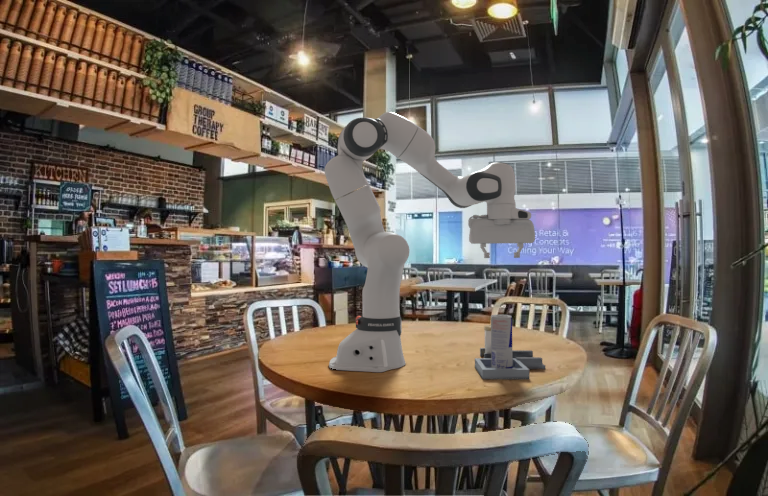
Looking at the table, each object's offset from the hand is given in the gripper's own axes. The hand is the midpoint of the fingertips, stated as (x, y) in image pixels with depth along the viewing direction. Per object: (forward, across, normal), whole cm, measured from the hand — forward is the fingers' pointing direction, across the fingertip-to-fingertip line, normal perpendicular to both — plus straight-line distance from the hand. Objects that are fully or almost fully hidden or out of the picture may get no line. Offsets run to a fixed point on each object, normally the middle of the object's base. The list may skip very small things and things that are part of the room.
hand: (501, 258), depth 136 cm
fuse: (+31, -4, -3) cm, 32 cm away
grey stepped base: (+31, +4, -10) cm, 33 cm away
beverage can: (+31, -5, -18) cm, 36 cm away
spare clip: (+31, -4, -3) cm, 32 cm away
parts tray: (+31, -5, -19) cm, 37 cm away
